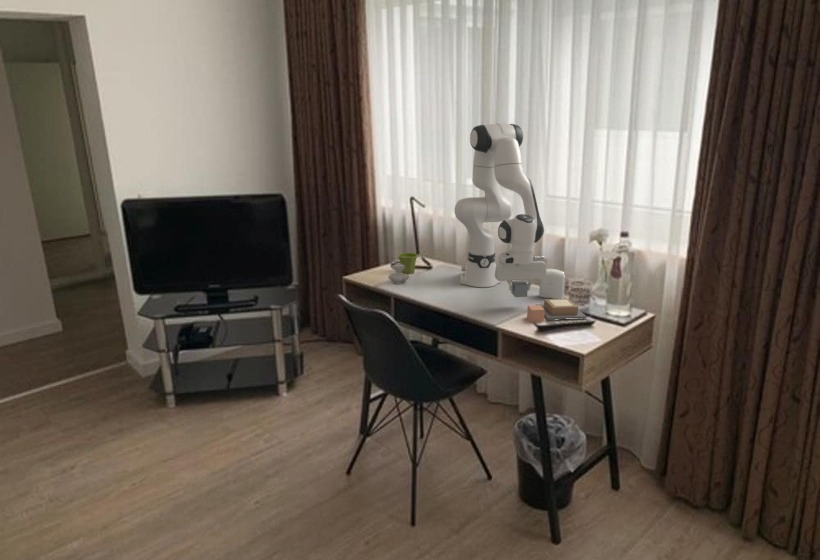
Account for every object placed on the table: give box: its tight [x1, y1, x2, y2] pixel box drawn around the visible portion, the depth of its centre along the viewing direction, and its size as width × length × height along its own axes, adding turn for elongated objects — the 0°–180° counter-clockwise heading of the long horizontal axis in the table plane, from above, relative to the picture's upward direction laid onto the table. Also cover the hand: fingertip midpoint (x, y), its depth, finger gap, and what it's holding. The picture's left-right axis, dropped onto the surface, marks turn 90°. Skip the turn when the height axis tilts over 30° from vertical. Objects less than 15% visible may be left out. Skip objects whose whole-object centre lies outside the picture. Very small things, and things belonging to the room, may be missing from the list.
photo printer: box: [538, 268, 566, 299], centre depth 250 cm, size 10×4×12 cm, turn 66°
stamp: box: [388, 263, 410, 285], centre depth 270 cm, size 9×7×8 cm
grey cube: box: [510, 280, 529, 298], centre depth 237 cm, size 5×5×5 cm
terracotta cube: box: [526, 304, 545, 323], centre depth 226 cm, size 5×5×5 cm
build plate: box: [537, 298, 587, 321], centre depth 233 cm, size 15×15×4 cm
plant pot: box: [397, 252, 419, 275], centre depth 285 cm, size 9×9×9 cm
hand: (519, 290), depth 237 cm, fingers closed on grey cube, 5 cm apart
